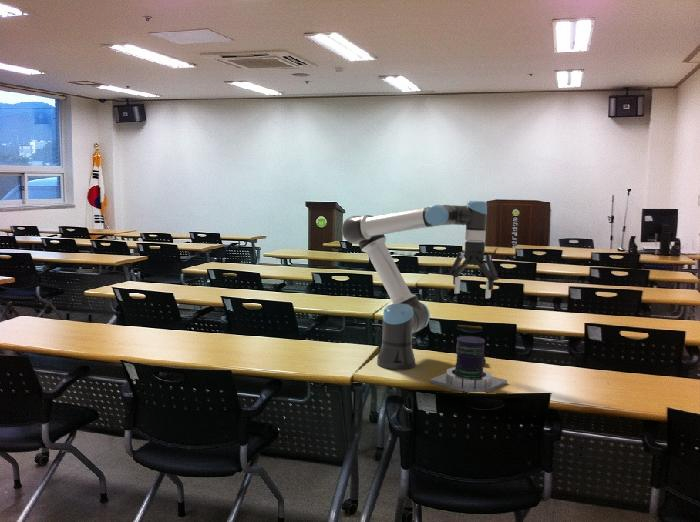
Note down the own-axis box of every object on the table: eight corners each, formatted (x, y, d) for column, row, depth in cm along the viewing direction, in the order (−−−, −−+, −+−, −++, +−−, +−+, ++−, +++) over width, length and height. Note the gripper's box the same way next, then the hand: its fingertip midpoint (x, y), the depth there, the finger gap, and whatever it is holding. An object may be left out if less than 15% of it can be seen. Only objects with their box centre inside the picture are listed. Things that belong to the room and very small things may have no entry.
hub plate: (429, 382, 205) (430, 372, 204) (458, 371, 220) (459, 361, 219) (479, 396, 192) (480, 386, 191) (506, 383, 207) (507, 373, 206)
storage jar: (449, 378, 206) (451, 338, 204) (464, 373, 213) (466, 334, 211) (472, 385, 199) (475, 344, 197) (487, 380, 206) (490, 339, 204)
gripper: (509, 243, 214) (506, 299, 216) (452, 238, 230) (449, 290, 233) (500, 244, 208) (496, 301, 211) (442, 239, 225) (439, 292, 227)
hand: (472, 295), depth 222 cm, fingers open, 13 cm apart
